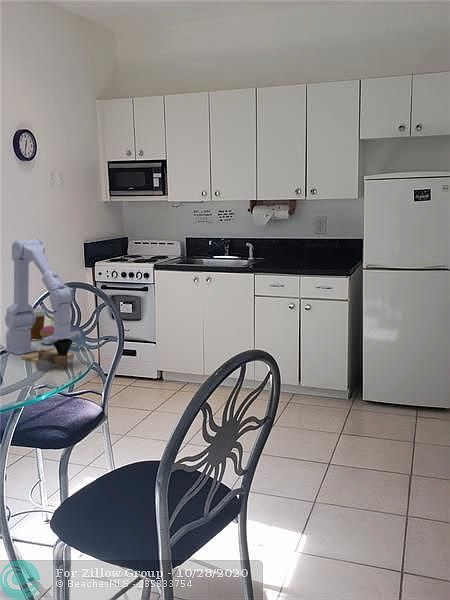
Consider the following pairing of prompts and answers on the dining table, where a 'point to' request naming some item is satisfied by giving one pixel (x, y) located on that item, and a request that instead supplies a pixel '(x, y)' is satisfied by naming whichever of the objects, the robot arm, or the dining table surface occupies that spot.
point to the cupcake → (47, 330)
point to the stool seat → (34, 356)
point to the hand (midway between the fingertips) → (62, 360)
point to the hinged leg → (53, 357)
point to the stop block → (44, 365)
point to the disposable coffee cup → (38, 323)
